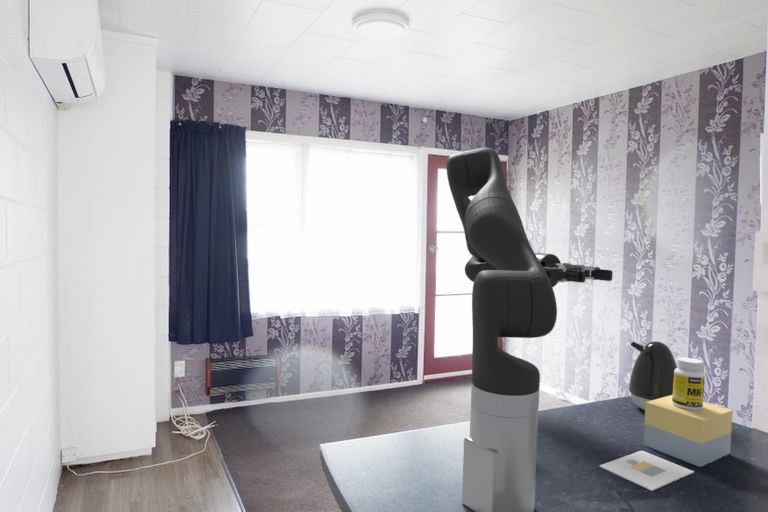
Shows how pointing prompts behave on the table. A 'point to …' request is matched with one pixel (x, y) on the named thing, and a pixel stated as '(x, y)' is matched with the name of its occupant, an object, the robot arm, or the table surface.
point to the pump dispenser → (652, 373)
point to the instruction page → (646, 470)
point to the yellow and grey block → (688, 431)
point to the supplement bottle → (688, 384)
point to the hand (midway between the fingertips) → (598, 276)
